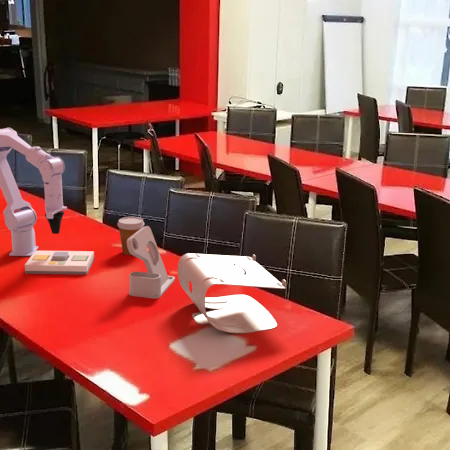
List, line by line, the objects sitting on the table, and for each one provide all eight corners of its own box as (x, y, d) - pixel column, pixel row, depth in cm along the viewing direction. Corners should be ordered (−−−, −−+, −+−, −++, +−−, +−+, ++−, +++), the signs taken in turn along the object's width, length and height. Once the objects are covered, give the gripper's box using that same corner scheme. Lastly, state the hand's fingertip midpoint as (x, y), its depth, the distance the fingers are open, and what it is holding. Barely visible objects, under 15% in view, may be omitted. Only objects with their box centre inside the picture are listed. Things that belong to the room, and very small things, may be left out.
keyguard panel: (36, 258, 224) (35, 249, 223) (94, 259, 224) (93, 250, 223) (25, 273, 210) (24, 264, 209) (86, 274, 211) (86, 265, 210)
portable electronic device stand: (176, 302, 192) (176, 253, 187) (250, 292, 200) (251, 245, 195) (204, 340, 169) (205, 286, 164) (286, 328, 177) (289, 275, 173)
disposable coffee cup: (112, 253, 230) (111, 221, 227) (128, 246, 238) (127, 215, 235) (134, 258, 226) (134, 225, 223) (150, 250, 234) (149, 219, 231)
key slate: (55, 257, 219) (55, 251, 218) (68, 257, 219) (68, 251, 218) (52, 261, 214) (52, 256, 214) (65, 262, 215) (65, 256, 214)
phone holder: (158, 299, 193) (157, 242, 188) (126, 295, 196) (125, 239, 190) (176, 278, 210) (176, 225, 204) (146, 275, 212) (145, 222, 206)
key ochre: (36, 260, 219) (35, 254, 218) (49, 260, 219) (48, 255, 218) (32, 265, 215) (32, 259, 214) (46, 265, 215) (45, 259, 214)
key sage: (74, 260, 219) (74, 255, 219) (87, 261, 219) (87, 255, 219) (72, 265, 215) (71, 259, 214) (85, 265, 215) (85, 260, 215)
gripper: (61, 200, 207) (63, 240, 211) (70, 189, 221) (72, 226, 225) (38, 199, 207) (41, 239, 211) (49, 188, 221) (51, 226, 225)
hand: (55, 233), depth 218 cm, fingers closed
